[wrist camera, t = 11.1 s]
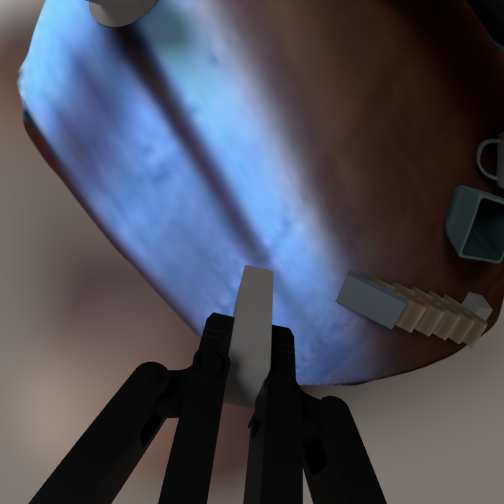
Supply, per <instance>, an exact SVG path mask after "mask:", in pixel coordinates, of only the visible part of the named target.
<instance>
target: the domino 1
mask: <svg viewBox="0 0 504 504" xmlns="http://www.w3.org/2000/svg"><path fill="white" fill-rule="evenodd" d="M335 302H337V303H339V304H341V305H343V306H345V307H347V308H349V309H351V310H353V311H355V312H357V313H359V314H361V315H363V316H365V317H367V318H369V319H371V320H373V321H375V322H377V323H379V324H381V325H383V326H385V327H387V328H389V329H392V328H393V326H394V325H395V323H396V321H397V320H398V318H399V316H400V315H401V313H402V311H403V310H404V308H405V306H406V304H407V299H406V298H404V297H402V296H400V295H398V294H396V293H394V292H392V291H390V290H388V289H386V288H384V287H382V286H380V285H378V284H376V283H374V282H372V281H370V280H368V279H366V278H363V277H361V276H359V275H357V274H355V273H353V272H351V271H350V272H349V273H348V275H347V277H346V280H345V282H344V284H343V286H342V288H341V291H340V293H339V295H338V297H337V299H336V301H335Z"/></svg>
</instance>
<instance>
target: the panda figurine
mask: <svg viewBox="0 0 504 504" xmlns="http://www.w3.org/2000/svg"><path fill="white" fill-rule="evenodd" d="M86 1H89V8H90V12H91V14H92V16H93V18H94V19H95V20H96V21H97V22H99V23H100V24H102V25H105V26H109V27H121V26H126V25H129V24H131V23H134V22H136V21H137V20H139V19H141V18H142V17H144V16H145V15H146V14H147V13H148V12H149V11H150V10H151V9H152V8H153V7H154V6H155V4H156V3H157V2H158V0H86Z"/></svg>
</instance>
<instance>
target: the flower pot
mask: <svg viewBox="0 0 504 504" xmlns="http://www.w3.org/2000/svg"><path fill="white" fill-rule="evenodd" d="M445 228H446V233H447V236H448V238H449V240H450V242H451V243H452V245H453V247H454V248H455V250H456V252H457V253H458V255H459V256H460V257H462V258H468V259H475V260H482V261H488V262H493V263H500V262H501V261H502V259H503V257H504V199H503V198H501V197H499V196H496V195H493V194H490V193H487V192H484V191H481V190H477V189H474V188H471V187H468V186H464V185H460V186H458V187H456V188H455V189H454V192H453V195H452V199H451V202H450V205H449V208H448V211H447V215H446V221H445Z"/></svg>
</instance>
